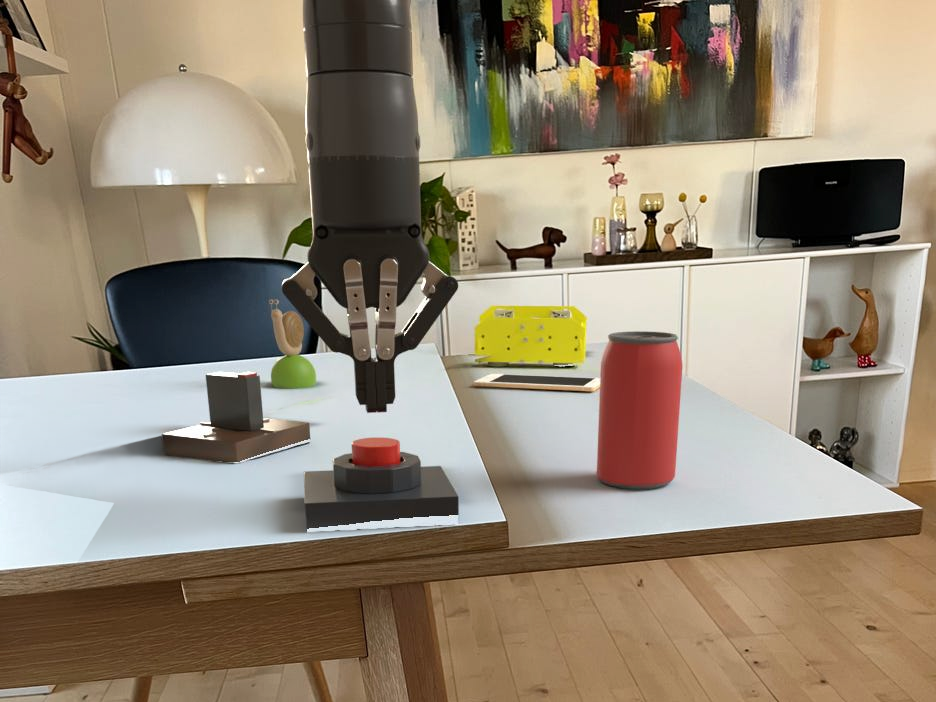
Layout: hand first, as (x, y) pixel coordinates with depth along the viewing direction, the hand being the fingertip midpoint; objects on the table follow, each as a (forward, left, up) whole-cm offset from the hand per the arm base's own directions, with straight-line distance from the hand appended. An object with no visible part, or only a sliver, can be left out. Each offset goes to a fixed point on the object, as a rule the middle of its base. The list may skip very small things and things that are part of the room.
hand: (375, 410), depth 77 cm
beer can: (+18, -14, -8) cm, 24 cm away
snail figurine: (+38, +38, -8) cm, 54 cm away
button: (0, 0, -4) cm, 4 cm away
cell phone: (+62, +16, -8) cm, 64 cm away
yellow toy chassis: (+79, +26, -8) cm, 83 cm away
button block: (0, 0, -8) cm, 8 cm away
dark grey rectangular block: (+13, +25, -6) cm, 29 cm away
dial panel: (+13, +25, -8) cm, 29 cm away
